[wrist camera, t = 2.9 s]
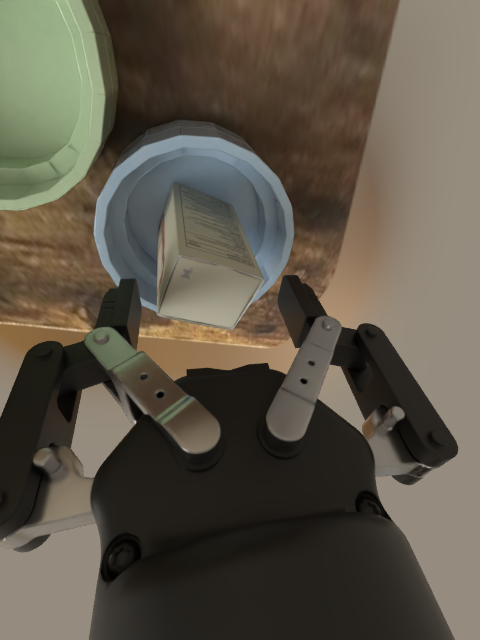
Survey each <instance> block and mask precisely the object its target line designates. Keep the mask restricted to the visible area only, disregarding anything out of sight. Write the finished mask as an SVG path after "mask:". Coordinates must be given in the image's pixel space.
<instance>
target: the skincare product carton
mask: <svg viewBox="0 0 480 640" xmlns="http://www.w3.org/2000/svg"><path fill="white" fill-rule="evenodd" d="M264 281H265V280H264V278H263V276H262V273H261V271H260V268H259V266H258V264H257V262H256V259H255V257H254V255H253V252H252V250H251V247H250V245H249V243H248V240H247V238H246V236H245V234H244V231H243V229H242V226H241V224H240V222H239V219H238V217H237V215H236V212H235V210H234V208H233V206H232V205H230V204H228V203H225V202H223V201H221V200H218V199H216V198H213V197H211V196H209V195H206V194H204V193H201V192H199V191H196V190H193V189H191V188H188V187H185V186H183V185H180V184H177V183H173V184H172V187H171V190H170V193H169V196H168V199H167V202H166V205H165V208H164V211H163V214H162V218H161V222H160V226H159V229H158V267H157V315H158V316H160V317H165V318H169V319H174V320H179V321H183V322H188V323H193V324H199V325H205V326H210V327H215V328H223V329H229V330H233V329H234V327H235V326H236V324H237V323H238V321H239V320H240V318H241V317H242V316H243V314H244V313H245V311H246V310H247V308H248V307H249V305H250V304H251V302H252V301H253V299H254V297H255V296H256V294H257V293H258V291H259V289H260V288H261V286H262V285H263V283H264Z"/></svg>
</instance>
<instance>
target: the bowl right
mask: <svg viewBox="0 0 480 640" xmlns="http://www.w3.org/2000/svg"><path fill="white" fill-rule="evenodd" d="M173 183H177V184H180V185H183V186H185V187H188V188H191V189H193V190H196V191H199V192H201V193H204V194H206V195H209V196H211V197H213V198H216V199H218V200H221V201H223V202H225V203H228V204H230V205H232V206H233V208H234V210H235V212H236V215H237V217H238V219H239V222H240V224H241V226H242V229H243V231H244V234H245V236H246V238H247V240H248V243H249V245H250V247H251V250H252V252H253V255H254V257H255V259H256V262H257V264H258V266H259V268H260V271H261V273H262V276H263V278H264V280H265V281H264V283H263V285H262V286H261V288H260V289H259V291H258V293H257V294H256V296H255V297H254V299H253V301H252V302H251V303H253V302H254V301H256V300H257V299H259V298H260V297H261V296H262V295H263V294H264V293H265V292H266V291H267V290H268V289H269V288H270V287H271V286H272V285H273V284H274V283H275V282H276V281H277V279H278V277H279V276H280V274H281V272H282V271H283V269H284V267H285V266H286V264H287V262H288V260H289V256H290V252H291V247H292V243H293V239H294V223H293V211H292V205H291V203H290V201H289V198H288V196H287V194H286V192H285V190H284V188H283V185H282V183H281V181H280V179H279V177H278V176H277V175H276V174H275V173H274V171H273V170H272V169H271V168H270V167H269V166H268V164H267V163H266V162H265V161H264V160H263V158H262V157H261V156H260V155H259V154H258V153H257V152H256V151H255V150H254V149H253V148H252V147H251V146H250V145H249V144H248V143H247V142H246V141H245V140H244V139H243V138H242V137H240V136H239V135H237V134H235V133H233V132H231V131H229V130H227V129H225V128H223V127H221V126H219V125H216V124H214V123H211V122H203V121H191V120H176V121H172V122H169V123H166V124H163V125H159V126H156V127H153V128H150V129H148V130H146V131H145V132H144V133H142V134H141V135H140V136H139V137H137V138H136V139H135V140H134V141H133V142H131V143H130V144H129V145H128V146H127V147H125V148H124V150H123V151H122V153H121V154H120V156H119V158H118V160H117V162H116V164H115V166H114V167H113V169H112V171H111V173H110V175H109V177H108V179H107V181H106V183H105V185H104V187H103V189H102V191H101V193H100V195H99V197H98V199H97V203H96V213H95V223H94V237H95V241H96V245H97V248H98V252H99V256H100V259H101V262H102V264H103V266H104V267H105V269H106V270H107V272H108V273H109V274H110V276H111V277H112V279H113V280H114V282H115V283H116V285H117V286H118V287H119V282H120V279H128V278H136V280H137V284H138V290H139V295H140V300H141V305H142V306H145V307H147V308H149V309H151V310H153V311H156V312H157V267H158V229H159V226H160V222H161V218H162V214H163V211H164V208H165V205H166V202H167V199H168V196H169V193H170V190H171V187H172V184H173Z"/></svg>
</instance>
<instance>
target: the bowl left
mask: <svg viewBox="0 0 480 640" xmlns="http://www.w3.org/2000/svg"><path fill="white" fill-rule="evenodd" d="M118 86H119V84H118V77H117V71H116V64H115V58H114V51H113V44H112V38H111V36H110V31H109V29H108V26H107V24H106V21H105V18H104V16H103V13H102V11H101V8H100V5H99V3H98V0H0V210H25V209H29V208H32V207H35V206H39V205H42V204H45V203H49V202H52V201H55V200H57V199H59V198H61V197H62V196H63V195H64V194H65V193H67V192H68V191H69V190H70V189H71V188H73V187H74V186H75V185H76V184H77V183H79V182H80V181H81V180H82V179H84V177H85V176H86V175H87V173H88V172H89V170H90V169H91V167H92V166H93V164H94V163H95V161H96V160H97V158H98V157H99V155H100V154H101V152H102V150H103V148H104V146H105V144H106V142H107V140H108V138H109V136H110V134H111V132H112V130H113V128H114V123H115V115H116V107H117V98H118V90H119V87H118Z"/></svg>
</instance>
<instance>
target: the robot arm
mask: <svg viewBox="0 0 480 640" xmlns="http://www.w3.org/2000/svg"><path fill="white" fill-rule="evenodd" d="M278 306H279V309H280V311H281V314H282V316H283V319H284V321H285V324H286V326H287V329H288V331H289V333H290V336H291V338H292V341H293V343H294V346H295V348H300V349H299V351H298V354H297V355H296V357H295V359H294V361H293V364H292V365H291V368H290V369H289V371H288V374H287V375H286V374H284V373H282V372H279V371H276V370H272V369H269V365H268V363H263V364H262V363H261V364H249V365H246V366H242V367H239V368H236V369H233V370H220V369H212V368H199V369H187V376H185V377H182V378H179V379H177V380H176V381H173V380H172V379H171V378H170V377H169V376H168V375H167V374H166V373H165V372H164V371H163V370H162V369H161V368H160V367H159V366H158V365H157V364H156V363H155V362H154V361H153V360H152V359H151V358H150V357H149V356H148V355H147V354H146V353H145V352H143V351H141V352H139V353H138V352H137V343H138V335H139V327H140V319H141V300H140V295H139V290H138V284H137V280H136V278H128V279H120V282H119V287H118V288H114V289H110V290H109V291H108V292H107V293H106V294H105V295H104V298H103V302H102V305H101V309H100V312H99V316H98V319H97V323H96V326H95V329H94V330H92V331H90V332H89V333H88V334H87V335H86V336H85V339H84V341H81V342H79V343H76V344H72V345H69V346H65V347H63V346H62V344H61V343H59V342H56V341H46V342H42V343H39V344H37V345H35V346H34V347H32V348H31V349H30V350H29V351H28V352H27V354H26V355H25V358H24V360H23V363H22V365H21V368H20V370H19V373H18V375H17V378H16V380H15V383H14V385H13V388H12V390H11V393H10V395H9V398H8V400H7V403H6V405H5V408H4V410H3V412H2V415H1V417H0V546H1V547H3V548H6V549H13V550H15V551H18V552H28V551H31V550H33V549H35V548H37V547H39V546H40V545H42V544H43V542H45V541H46V540H47V539H48V537H49V536H50V534H51V533H56V532H60V531H64V530H69V529H73V528H77V527H81V526H86V525H90V524H94V523H96V524H97V526H98V530H99V535H100V540H101V563H100V569H99V575H98V581H97V587H96V594H95V601H94V608H93V615H92V622H91V629H90V635H89V640H455V639H454V637H453V635H452V633H451V630H450V628H449V626H448V624H447V622H446V620H445V618H444V616H443V614H442V612H441V609H440V607H439V605H438V603H437V601H436V599H435V597H434V595H433V593H432V590H431V588H430V586H429V584H428V582H427V580H426V578H425V576H424V574H423V571H422V569H421V567H420V565H419V563H418V561H417V559H416V557H415V555H414V552H413V550H412V548H411V546H410V544H409V542H408V540H407V538H406V536H405V535H404V534H403V532H402V531H401V530H400V529H399V528H398V527H397V525H396V524H395V523H394V522H393V521H392V520H391V518H390V517H389V515H388V514H387V512H386V511H385V510H384V508H383V506H382V504H381V502H380V499H379V496H378V492H377V487H376V480H375V477H381V476H392V477H393V478H394V479H395V480H397V481H398V482H400V483H402V484H405V485H413V484H415V483H416V482H418V481H419V480H421V479H422V478H424V477H425V476H427V475H428V474H430V473H431V472H433V471H434V470H436V469H437V468H439V467H440V466H442V465H443V464H445V463H446V462H448V461H449V460H451V459H452V458H454V457H455V456H456V455H457V453H458V446H457V443H456V441H455V439H454V437H453V436H452V435H451V433H450V431H449V430H448V428H447V427H446V425H445V424H444V422H443V421H442V419H441V418H440V416H439V415H438V413H437V412H436V410H435V409H434V407H433V406H432V404H431V403H430V401H429V400H428V398H427V397H426V395H425V394H424V392H423V391H422V389H421V387H420V386H419V384H418V383H417V381H416V380H415V379H414V377H413V375H412V374H411V372H410V371H409V370H408V368H407V366H406V365H405V363H404V362H403V360H402V359H401V358H400V356H399V354H398V353H397V351H396V350H395V348H394V347H393V346H392V344H391V342H390V341H389V339H388V338H387V336H386V335H385V333H384V332H383V331H382V330H381V329H380V328H378V327H377V326H375V325H372V324H368V323H367V324H366V323H364V324H361V325H359V327H358V328H357V330H355V329H350V328H344V327H342V326H341V324H340V323H339V321H337V320H336V319H334V318H332V317H329V316H328V315H327V314H326V312H325V310H324V308H323V307H322V305H321V303H320V301H318V298H317V296H316V295H315V293H314V291H313V289H312V288H311V287H309V286H308V285H307V284H302V283H301V281H300V279H299V277H298V276H297V275H284V276H283V278H282V282H281V287H280V291H279V295H278ZM329 365H336V366H341V368H342V370H343V373H344V375H345V377H346V379H347V382H348V384H349V385H350V388H351V390H352V393H353V395H354V397H355V399H356V401H357V403H358V406H359V408H360V410H361V412H362V414H363V417H364V419H365V422H364V423H363V426H362V431H363V435H364V436H363V435H362V434H361V433H360V432H359V431H358V430H357V429H356V428H355V427H354V426H352V425H351V424H350V423H348V422H347V421H346V420H344V419H343V418H342V417H340V416H339V415H338V414H337V413H336V412H334V411H333V410H332V409H330V408H329V407H328V406H326V405H325V404H324V403H323V402H321V401H320V400H319V399H318V395H319V393H320V390H321V387H322V384H323V382H324V379H325V376H326V373H327V370H328V368H329ZM100 383H102V384H103V385H104V386H105V388H106V389H107V390H108V391H109V392H110V394H111V395H112V396H113V397H114V399H115V400H116V401H117V402H118V403H119V405H120V406H121V407H122V409H123V410H124V412H125V414H126V416H127V417H128V419H129V420H130V422H131V423H132V424H133V425H134V426H133V428H132V429H131V430H130V431H129V433H128V434H127V435H126V436H125V437H124V438H123V440H122V441H121V442H120V443H119V444H118V446H117V447H116V448H115V449H114V450H113V452H112V453H111V454H110V455H109V456H108V457H107V459H106V460H105V461H104V462H103V464H102V465H101V466H100V468H99V470H98V471H97V473H96V476H95V478H86V477H84V476H83V465H82V463H81V462H80V460H79V459H78V458H77V456H76V455H75V454H74V452H73V451H72V450H71V444H72V438H73V434H74V429H75V424H76V419H77V413H78V408H79V403H80V398H81V393H82V389H85V388H88V387H91V386H94V385H97V384H100Z"/></svg>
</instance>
